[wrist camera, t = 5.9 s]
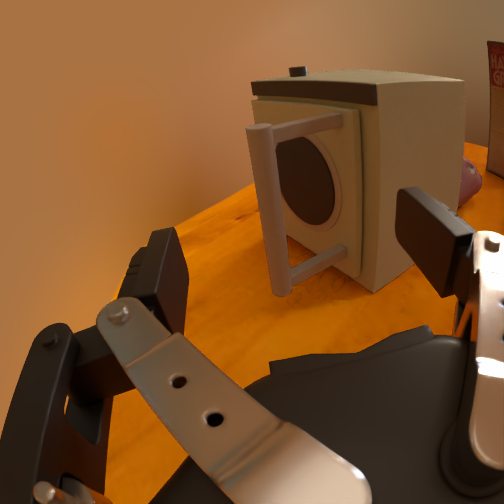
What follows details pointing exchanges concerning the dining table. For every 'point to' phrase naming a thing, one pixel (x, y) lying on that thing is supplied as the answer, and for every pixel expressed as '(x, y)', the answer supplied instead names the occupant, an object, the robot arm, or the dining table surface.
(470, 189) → the video game controller
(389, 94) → the washer
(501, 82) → the food packaging
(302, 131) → the washer door
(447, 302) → the dining table surface
